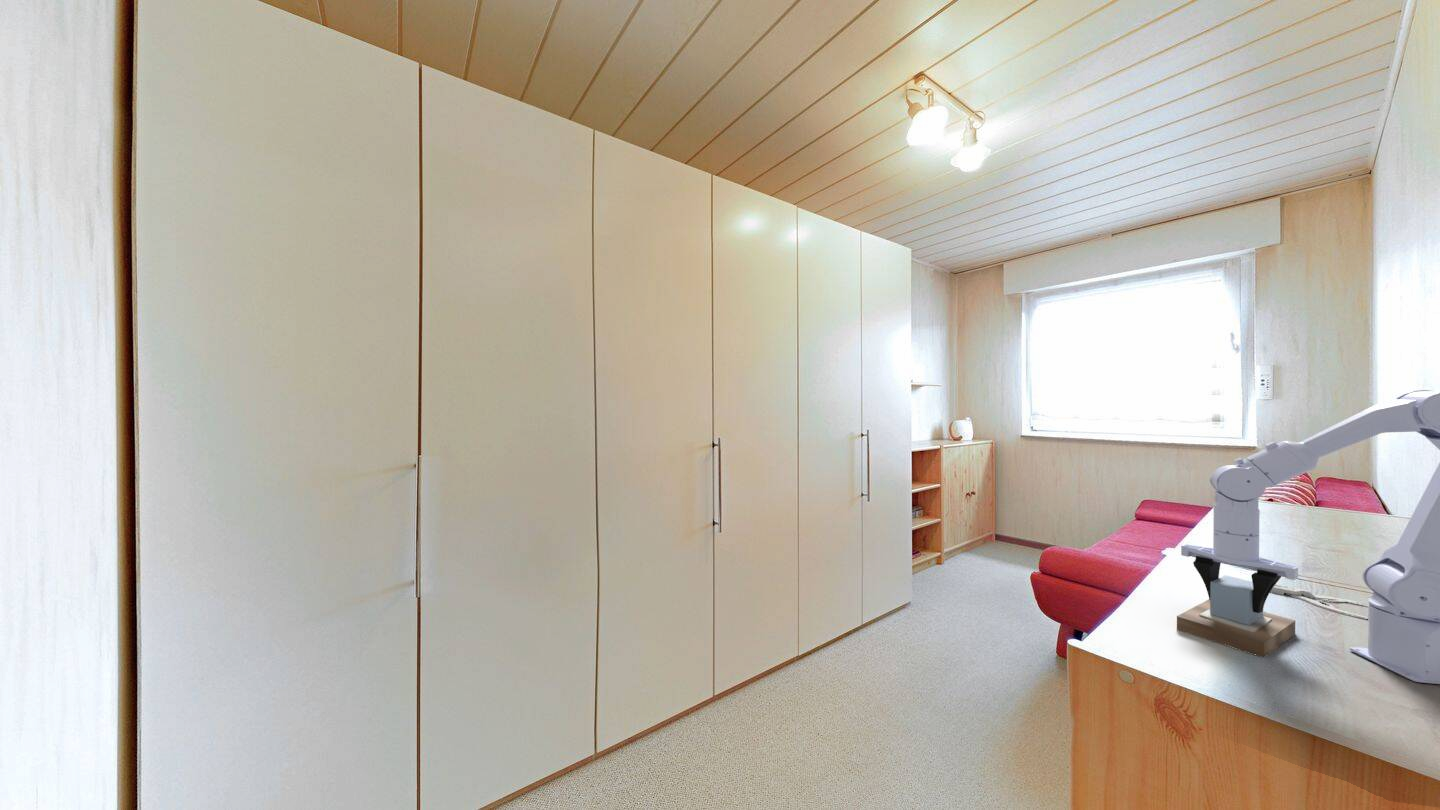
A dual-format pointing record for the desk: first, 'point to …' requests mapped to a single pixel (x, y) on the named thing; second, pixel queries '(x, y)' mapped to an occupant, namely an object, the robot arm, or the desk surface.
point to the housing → (1233, 600)
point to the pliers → (1296, 593)
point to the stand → (1237, 630)
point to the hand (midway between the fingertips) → (1235, 605)
